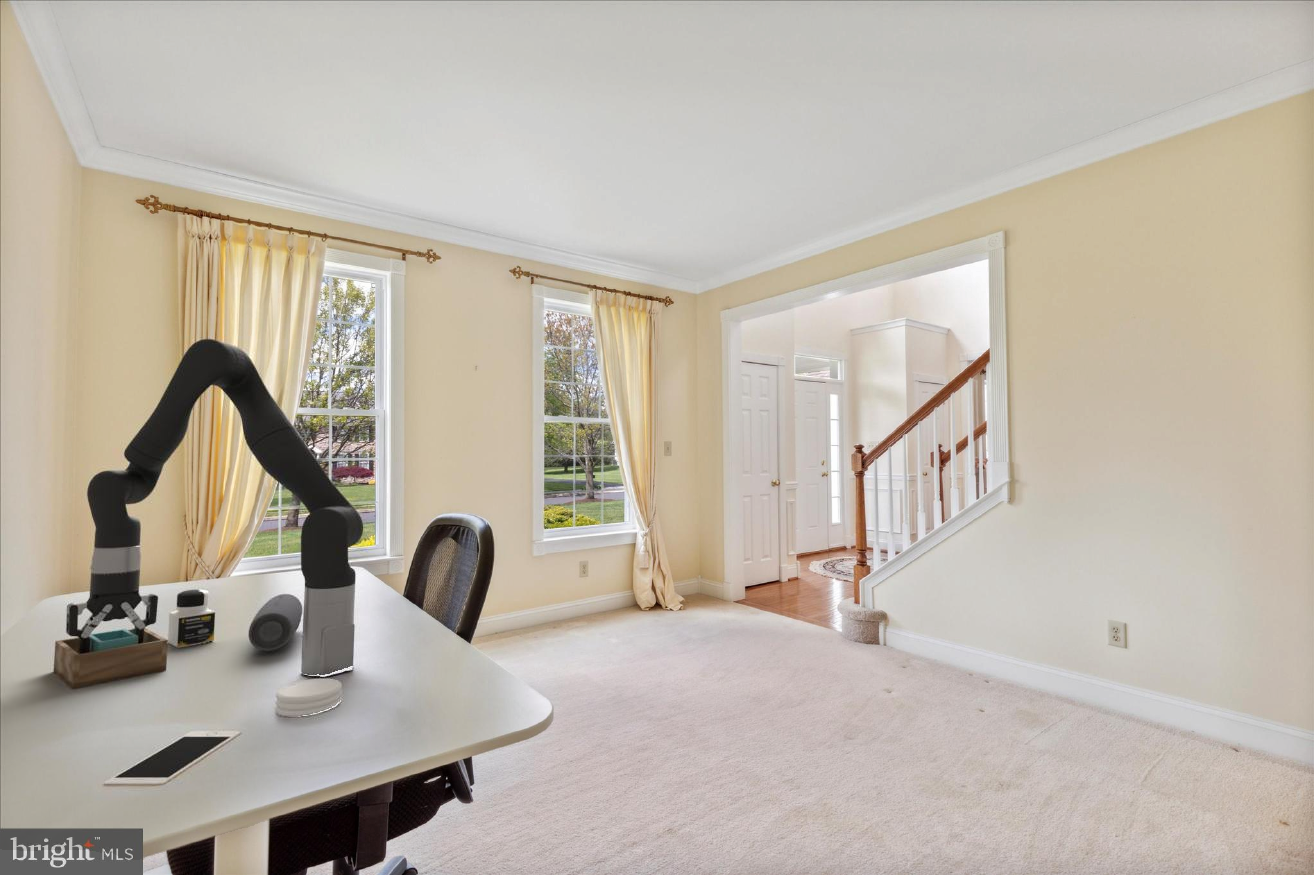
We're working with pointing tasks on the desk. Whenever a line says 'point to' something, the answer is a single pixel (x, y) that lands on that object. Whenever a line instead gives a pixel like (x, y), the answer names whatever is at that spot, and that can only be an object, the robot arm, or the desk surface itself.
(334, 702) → the coaster
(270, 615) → the bluetooth speaker
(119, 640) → the small teal crate
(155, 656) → the walnut crate
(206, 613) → the medicine bottle
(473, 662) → the desk surface
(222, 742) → the cell phone
